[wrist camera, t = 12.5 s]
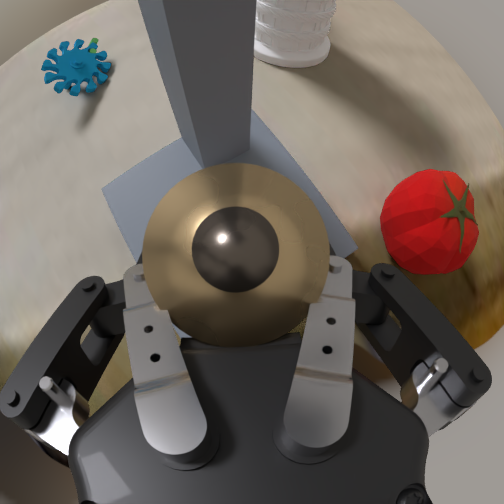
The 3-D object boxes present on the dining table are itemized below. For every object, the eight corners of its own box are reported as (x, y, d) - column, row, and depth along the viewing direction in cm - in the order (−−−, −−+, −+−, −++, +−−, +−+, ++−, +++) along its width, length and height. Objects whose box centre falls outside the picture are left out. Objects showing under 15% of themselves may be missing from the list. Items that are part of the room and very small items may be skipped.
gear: (90, 101, 25) (28, 70, 18) (77, 125, 29) (22, 98, 22) (127, 51, 29) (75, 23, 22) (110, 75, 33) (63, 50, 26)
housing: (224, 338, 16) (205, 385, 6) (181, 268, 17) (111, 221, 7) (294, 293, 17) (366, 276, 7) (249, 226, 18) (262, 132, 8)
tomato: (350, 244, 25) (395, 217, 16) (393, 168, 26) (434, 127, 18) (420, 299, 24) (477, 295, 16) (452, 221, 26) (502, 197, 17)
